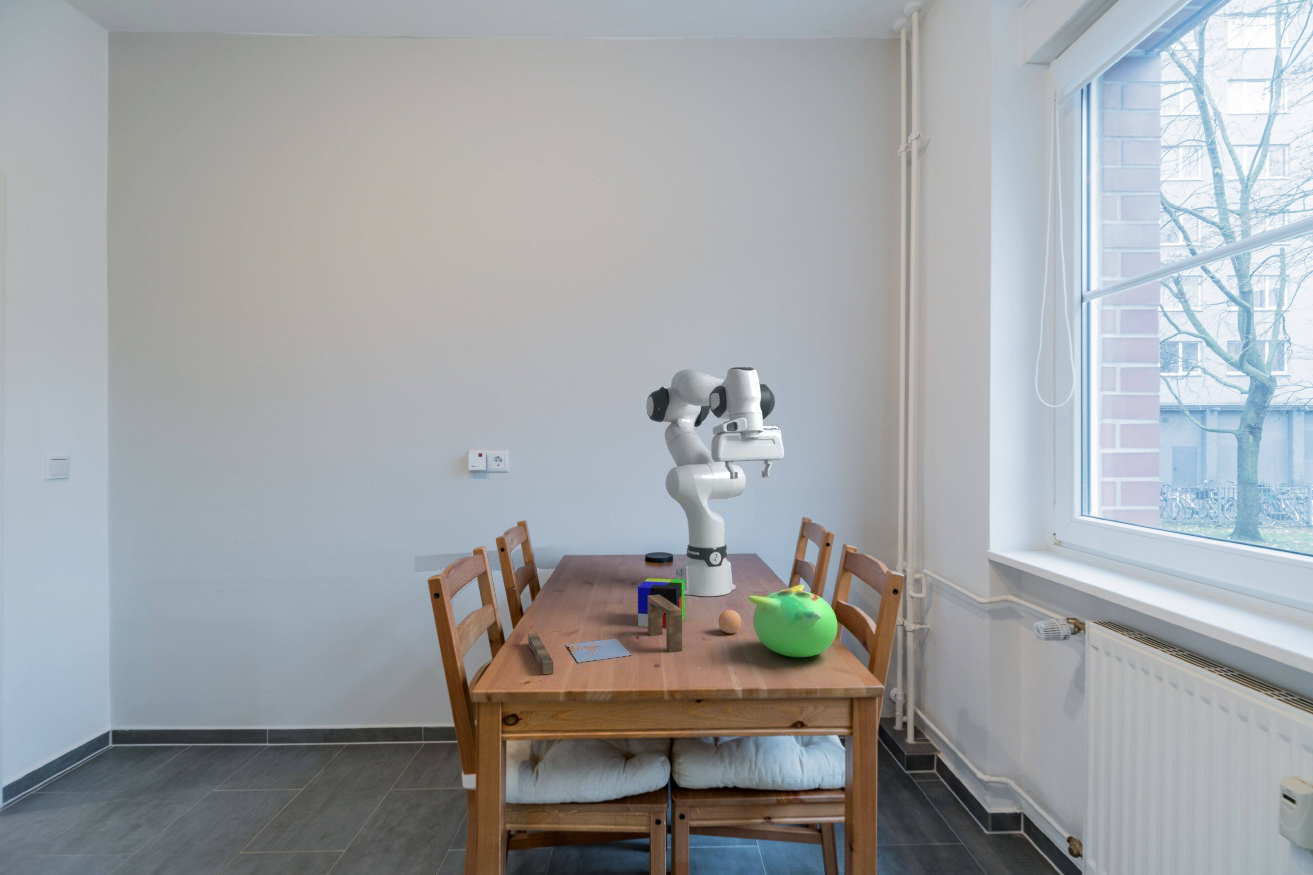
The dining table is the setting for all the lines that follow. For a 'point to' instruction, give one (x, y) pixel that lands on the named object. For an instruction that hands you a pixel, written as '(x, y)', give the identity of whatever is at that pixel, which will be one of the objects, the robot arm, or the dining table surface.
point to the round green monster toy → (794, 622)
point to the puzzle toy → (666, 589)
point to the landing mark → (599, 650)
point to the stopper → (540, 653)
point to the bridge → (672, 621)
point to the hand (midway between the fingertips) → (750, 478)
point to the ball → (729, 621)
